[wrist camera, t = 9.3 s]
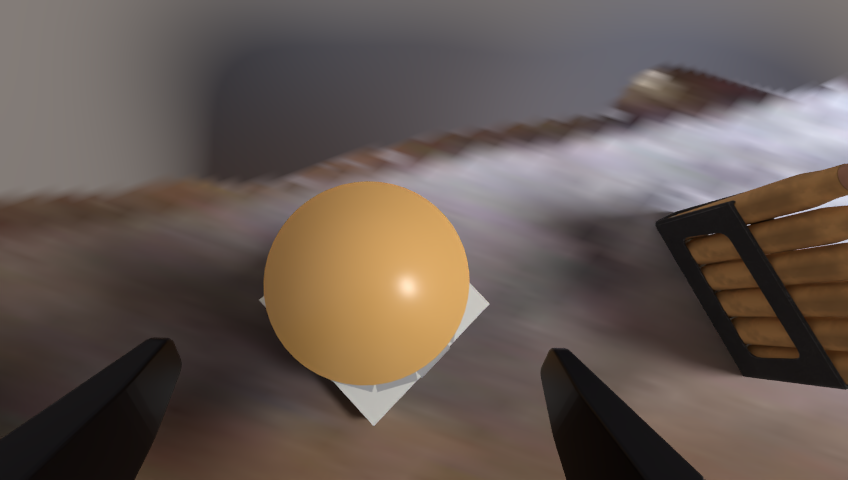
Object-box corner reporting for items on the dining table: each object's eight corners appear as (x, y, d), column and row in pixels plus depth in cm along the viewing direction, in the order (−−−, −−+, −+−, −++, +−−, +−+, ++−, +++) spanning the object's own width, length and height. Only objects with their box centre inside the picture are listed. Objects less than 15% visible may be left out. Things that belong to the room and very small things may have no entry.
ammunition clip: (653, 222, 23) (926, 130, 12) (675, 211, 24) (960, 111, 12) (743, 377, 22) (1158, 448, 10) (765, 363, 22) (1189, 415, 11)
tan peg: (424, 376, 18) (517, 510, 6) (301, 352, 18) (112, 439, 5) (447, 257, 20) (561, 157, 7) (333, 232, 19) (244, 78, 7)
